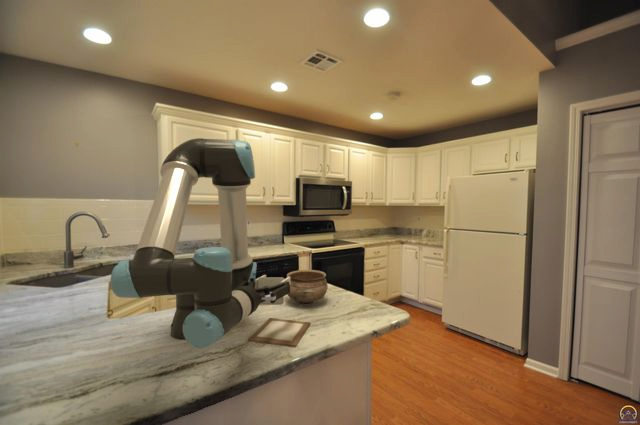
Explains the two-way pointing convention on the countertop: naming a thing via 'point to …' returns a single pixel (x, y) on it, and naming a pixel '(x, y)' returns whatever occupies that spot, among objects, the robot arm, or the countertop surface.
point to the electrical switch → (268, 283)
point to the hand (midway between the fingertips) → (277, 279)
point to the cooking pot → (307, 286)
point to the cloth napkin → (280, 332)
